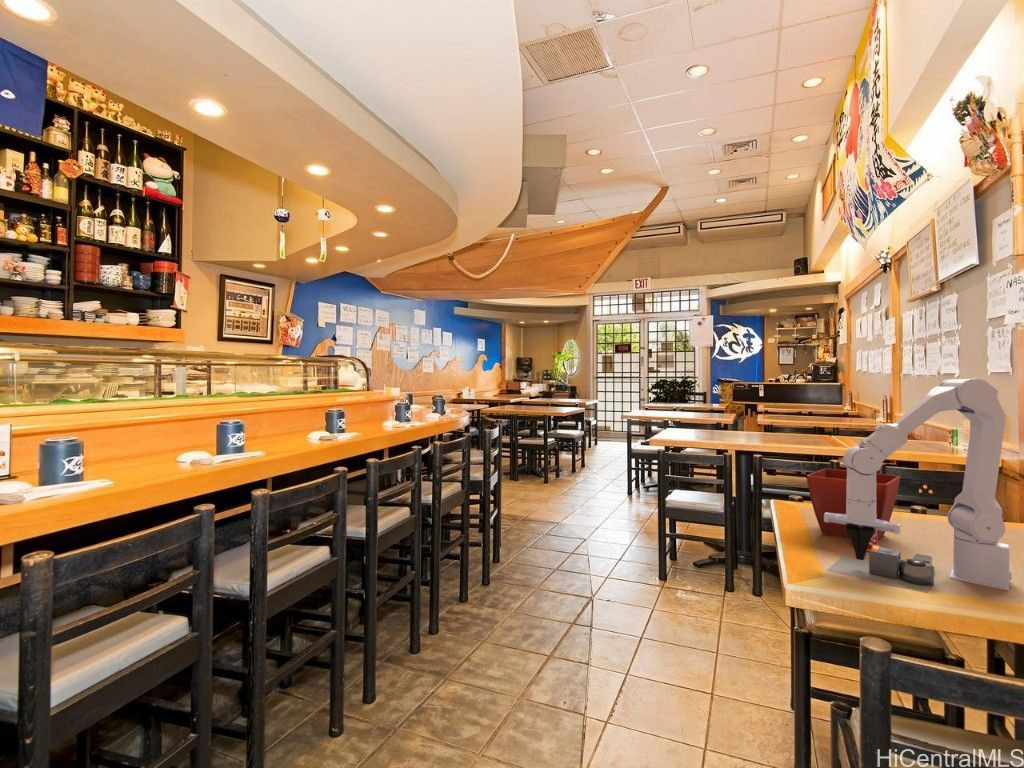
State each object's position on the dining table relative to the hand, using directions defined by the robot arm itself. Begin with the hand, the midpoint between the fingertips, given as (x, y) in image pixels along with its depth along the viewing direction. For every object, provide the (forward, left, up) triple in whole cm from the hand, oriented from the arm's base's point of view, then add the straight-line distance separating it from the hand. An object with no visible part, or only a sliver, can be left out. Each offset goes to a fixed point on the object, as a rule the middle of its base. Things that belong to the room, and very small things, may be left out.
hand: (860, 558), depth 121 cm
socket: (-5, 0, -2) cm, 5 cm away
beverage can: (+3, -19, -3) cm, 20 cm away
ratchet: (-8, -5, -2) cm, 10 cm away
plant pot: (+8, -32, -3) cm, 33 cm away
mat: (-4, -1, -3) cm, 5 cm away
